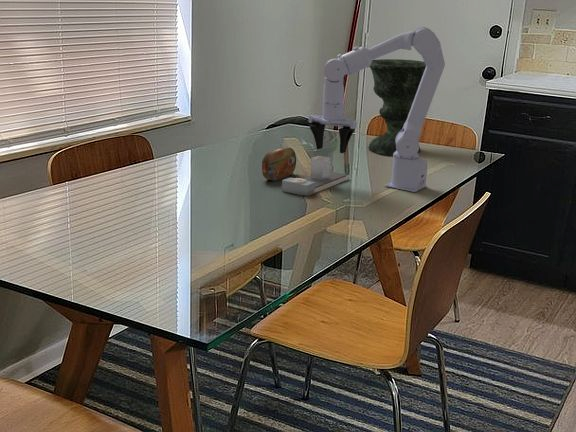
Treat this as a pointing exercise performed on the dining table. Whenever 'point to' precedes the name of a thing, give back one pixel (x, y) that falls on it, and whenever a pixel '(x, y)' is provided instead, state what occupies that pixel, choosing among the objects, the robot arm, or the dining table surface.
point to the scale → (311, 184)
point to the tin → (279, 164)
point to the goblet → (394, 97)
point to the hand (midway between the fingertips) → (331, 150)
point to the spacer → (320, 168)
